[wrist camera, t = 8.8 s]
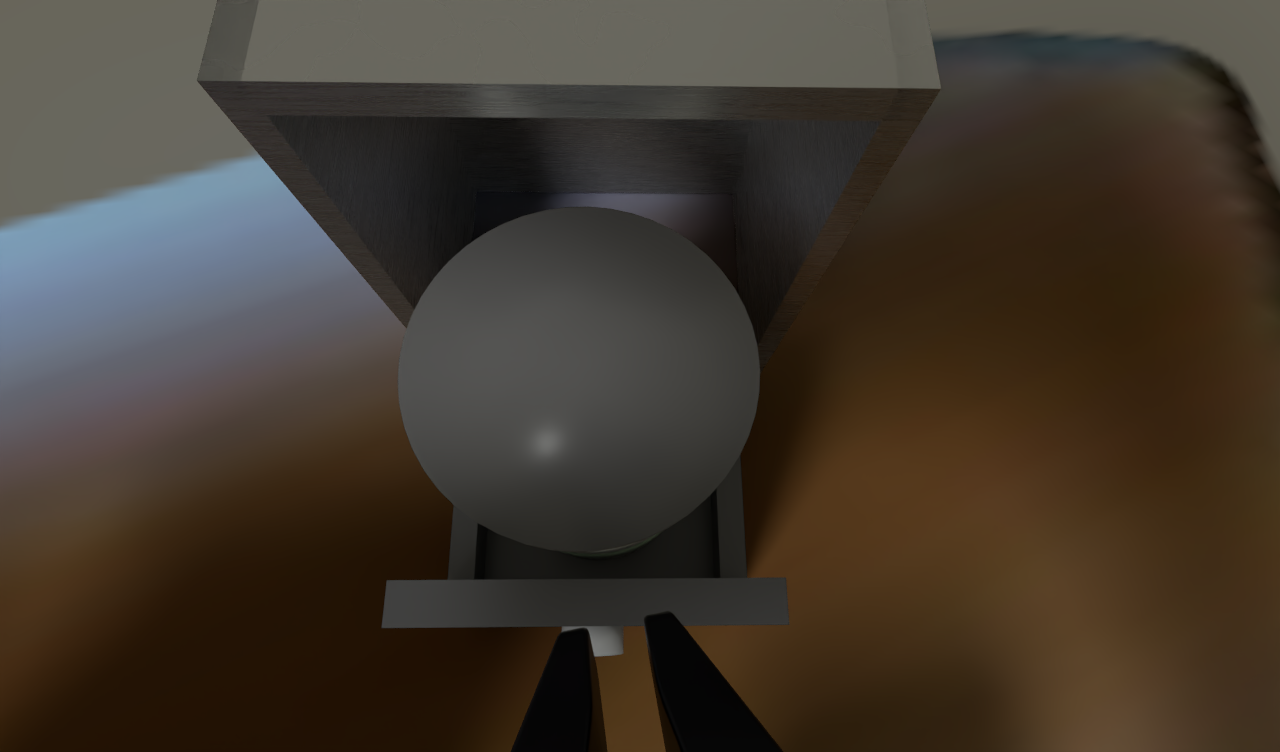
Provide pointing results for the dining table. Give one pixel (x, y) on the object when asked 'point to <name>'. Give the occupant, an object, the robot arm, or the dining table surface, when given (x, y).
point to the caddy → (577, 118)
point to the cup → (579, 380)
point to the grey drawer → (597, 580)
